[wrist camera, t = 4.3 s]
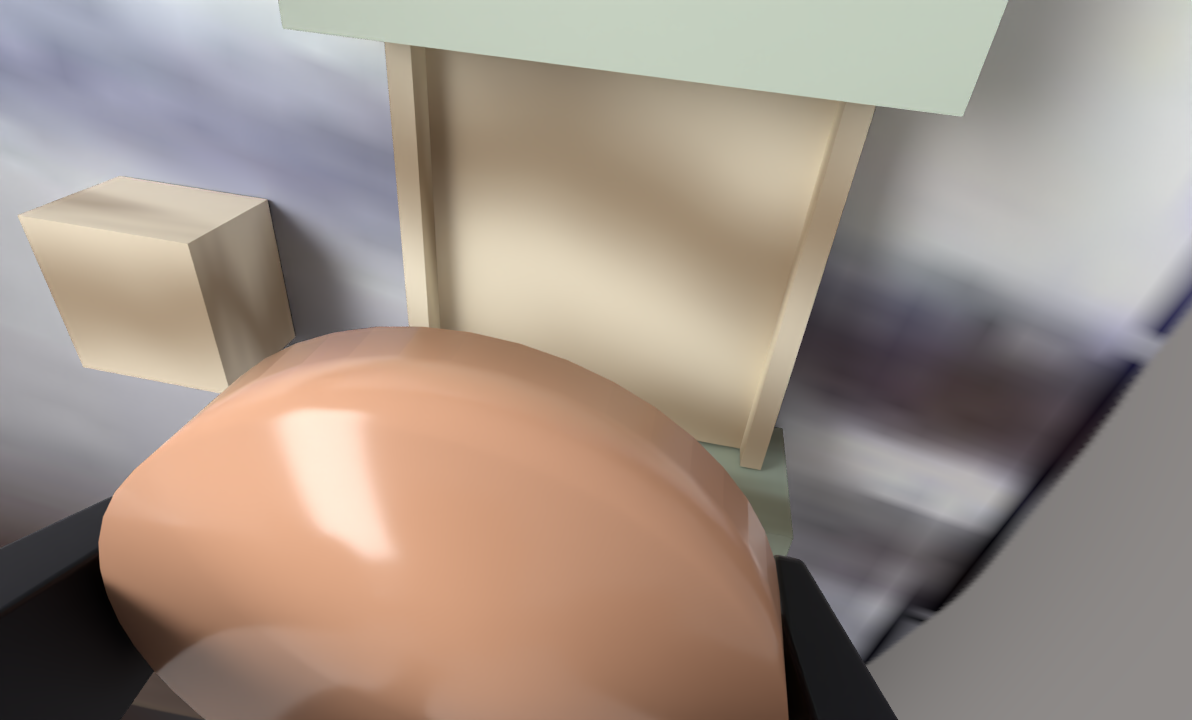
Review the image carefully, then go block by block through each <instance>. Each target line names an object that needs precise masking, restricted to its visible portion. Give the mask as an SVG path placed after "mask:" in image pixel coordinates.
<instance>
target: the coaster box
mask: <svg viewBox="0 0 1192 720" xmlns="http://www.w3.org/2000/svg"><path fill="white" fill-rule="evenodd" d="M278 3H279V9H280V15H281V21H282V27H283V29H290V30H297V31H305V32H313V33H320V34H328V35H336V36H343V37H351V38H359V39H367V40H374V41H382V42H390V43H397V44H405V45H413V46H420V47H428V48H436V49H444V50H451V51H459V52H467V53H474V54H482V55H490V56H497V57H505V58H513V59H521V60H528V61H536V62H544V63H551V64H559V65H567V66H574V67H582V68H590V69H597V70H605V71H613V72H621V73H628V74H636V75H644V76H651V77H659V78H667V79H674V80H682V81H690V82H698V83H705V84H713V85H721V86H728V87H736V88H744V89H751V90H759V91H767V92H775V93H782V94H790V95H798V96H805V97H813V98H821V99H828V100H836V101H844V102H852V103H859V104H867V105H875V106H882V107H890V108H898V109H905V110H913V111H921V112H928V113H936V114H944V115H952V116H959V117H963V115H964V112H965V110H966V107H967V105H968V102H969V100H970V97H971V95H972V92H973V90H974V87H975V84H976V82H977V79H978V77H979V74H980V72H981V69H982V67H983V64H984V61H985V59H986V56H987V54H988V51H989V49H990V46H991V44H992V41H993V39H994V36H995V33H996V31H997V28H998V26H999V23H1000V21H1001V18H1002V16H1003V13H1004V11H1005V8H1006V5H1007V3H1008V0H278Z"/></svg>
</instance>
